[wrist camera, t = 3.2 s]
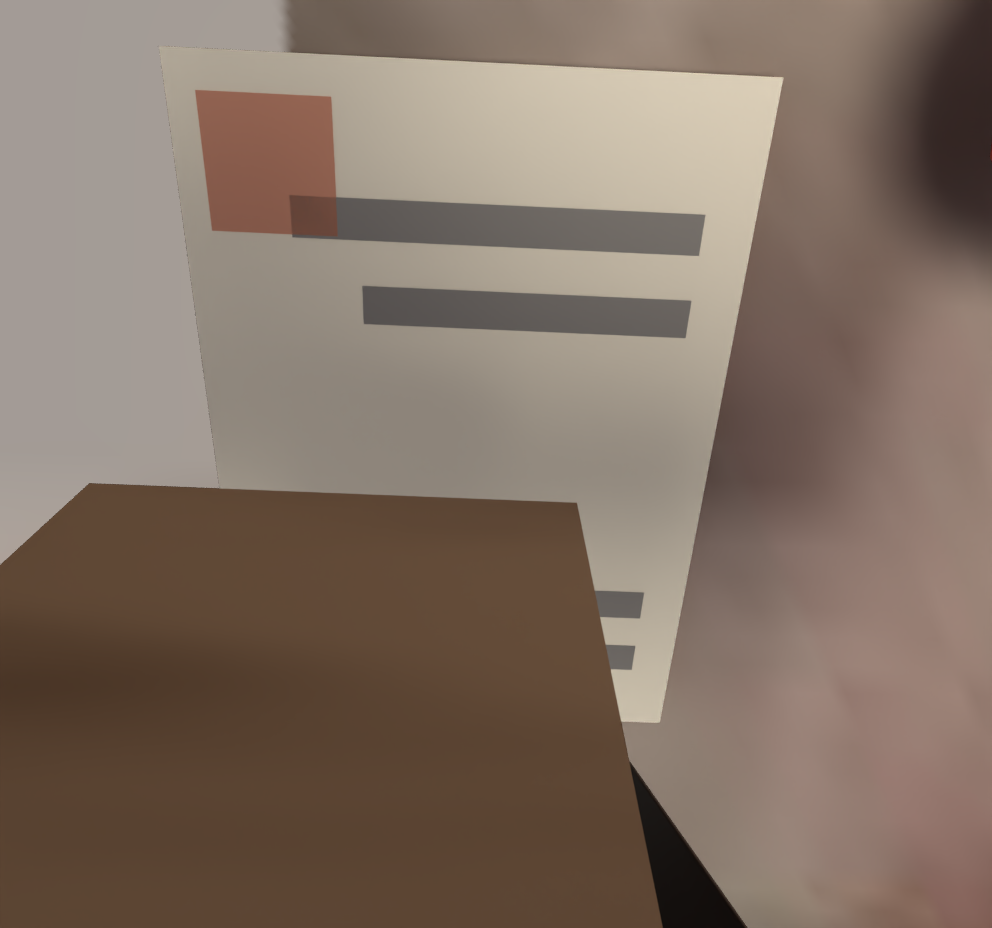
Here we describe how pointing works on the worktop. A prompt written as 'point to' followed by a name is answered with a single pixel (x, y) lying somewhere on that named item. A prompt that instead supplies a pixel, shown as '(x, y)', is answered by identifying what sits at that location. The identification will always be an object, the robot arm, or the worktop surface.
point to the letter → (477, 292)
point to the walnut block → (311, 717)
